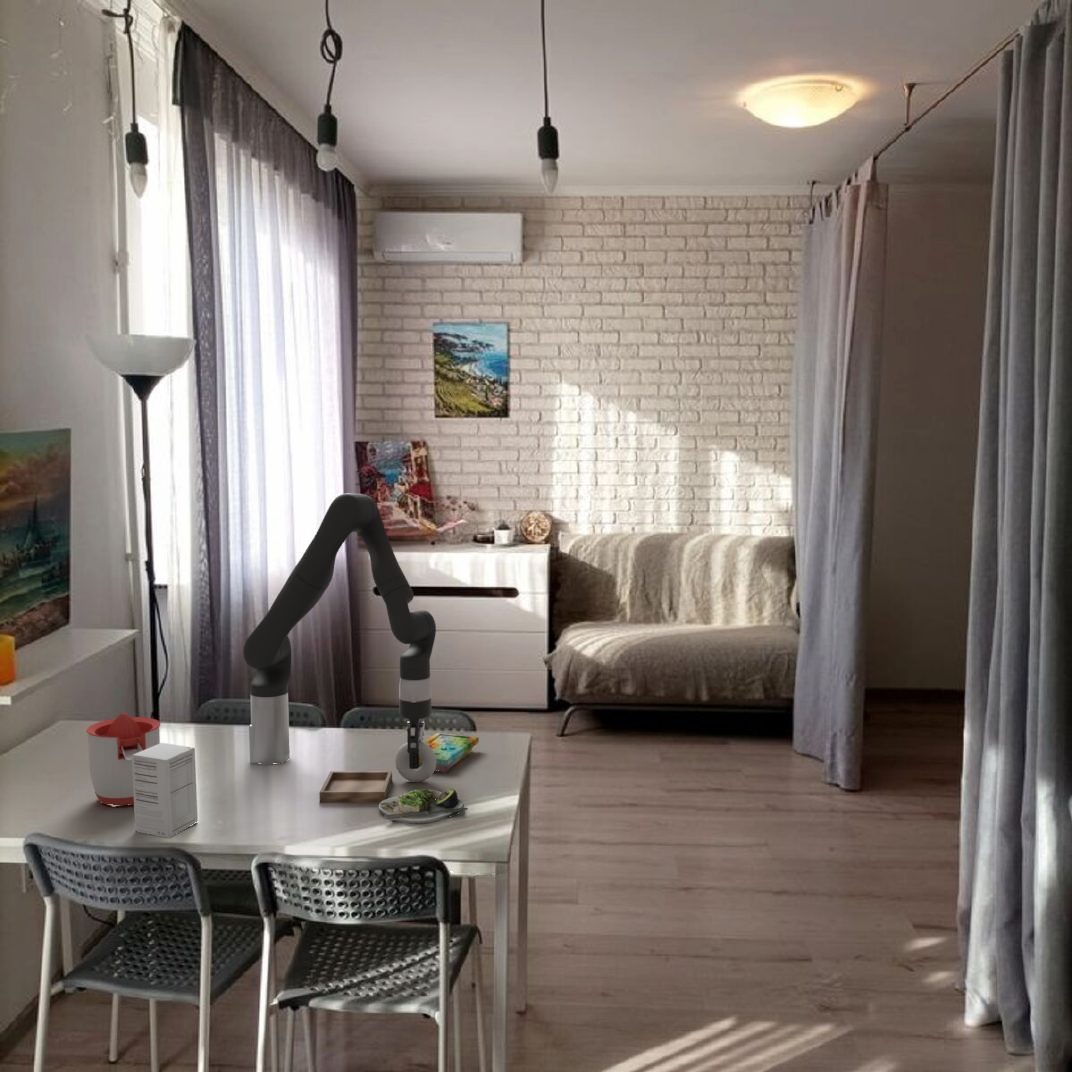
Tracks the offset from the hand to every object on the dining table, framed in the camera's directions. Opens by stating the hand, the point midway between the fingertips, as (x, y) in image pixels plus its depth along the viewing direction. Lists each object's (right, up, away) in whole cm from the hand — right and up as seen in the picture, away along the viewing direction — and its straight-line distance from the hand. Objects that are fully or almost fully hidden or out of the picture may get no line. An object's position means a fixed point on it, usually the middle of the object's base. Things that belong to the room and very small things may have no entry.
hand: (415, 762), depth 270 cm
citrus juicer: (-64, -6, -12) cm, 65 cm away
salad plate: (+4, -7, -18) cm, 20 cm away
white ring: (0, -5, +1) cm, 5 cm away
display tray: (-13, -5, -7) cm, 15 cm away
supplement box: (-50, -8, -29) cm, 58 cm away
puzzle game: (+5, -3, +18) cm, 19 cm away
